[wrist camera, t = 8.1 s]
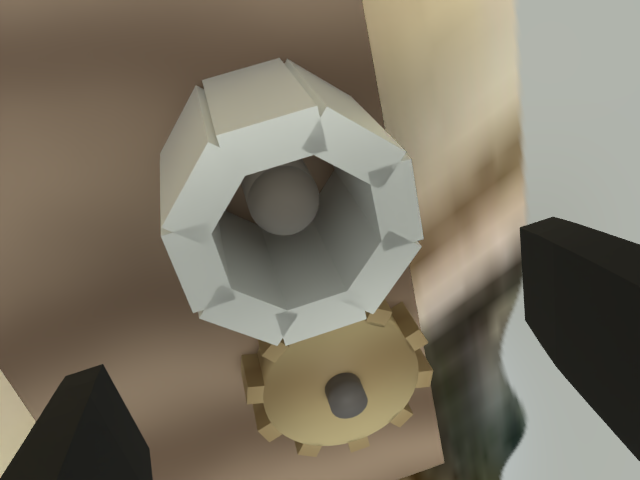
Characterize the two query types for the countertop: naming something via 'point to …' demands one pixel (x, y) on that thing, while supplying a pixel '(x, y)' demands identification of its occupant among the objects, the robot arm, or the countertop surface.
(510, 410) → the countertop surface
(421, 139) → the countertop surface
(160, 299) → the gear board
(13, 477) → the robot arm
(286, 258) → the hollow cylinder
